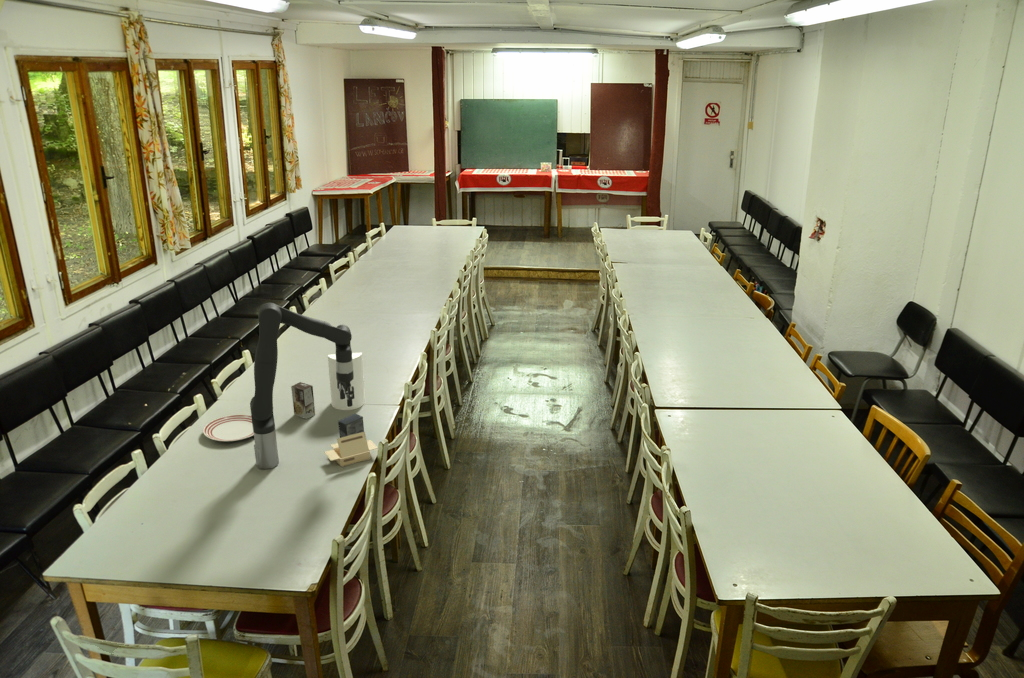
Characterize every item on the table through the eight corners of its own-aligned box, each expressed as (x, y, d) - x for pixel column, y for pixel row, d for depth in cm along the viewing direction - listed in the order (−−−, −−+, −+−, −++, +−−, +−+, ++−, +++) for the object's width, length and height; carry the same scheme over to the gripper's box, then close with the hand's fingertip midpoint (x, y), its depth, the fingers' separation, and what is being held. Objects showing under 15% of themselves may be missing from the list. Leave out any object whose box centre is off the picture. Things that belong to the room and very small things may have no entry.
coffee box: (315, 414, 386) (313, 385, 380) (306, 419, 381) (303, 390, 375) (303, 409, 391) (300, 381, 385) (293, 414, 386) (290, 385, 380)
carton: (332, 469, 337) (331, 461, 336) (321, 455, 348) (320, 447, 347) (378, 456, 348) (378, 448, 347) (367, 443, 360) (366, 435, 358)
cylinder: (365, 408, 393) (362, 358, 383) (331, 411, 390) (327, 361, 380) (364, 394, 409) (361, 346, 399) (331, 396, 406) (327, 348, 395)
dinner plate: (263, 416, 384) (262, 410, 383) (264, 441, 360) (263, 435, 359) (205, 423, 376) (204, 417, 375) (202, 450, 352) (201, 443, 351)
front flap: (341, 458, 338) (336, 438, 338) (341, 458, 338) (336, 438, 339) (369, 450, 344) (364, 431, 345) (368, 450, 344) (364, 431, 345)
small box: (356, 431, 370) (355, 412, 366) (365, 436, 366) (363, 416, 363) (338, 439, 363) (337, 420, 359) (347, 444, 359) (346, 424, 355)
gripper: (330, 365, 340) (332, 398, 345) (342, 376, 329) (344, 410, 334) (346, 362, 343) (348, 394, 349) (358, 373, 332) (360, 406, 338)
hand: (346, 402), depth 342 cm, fingers open, 8 cm apart
